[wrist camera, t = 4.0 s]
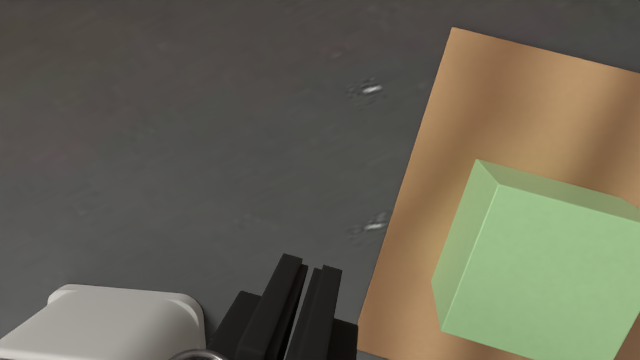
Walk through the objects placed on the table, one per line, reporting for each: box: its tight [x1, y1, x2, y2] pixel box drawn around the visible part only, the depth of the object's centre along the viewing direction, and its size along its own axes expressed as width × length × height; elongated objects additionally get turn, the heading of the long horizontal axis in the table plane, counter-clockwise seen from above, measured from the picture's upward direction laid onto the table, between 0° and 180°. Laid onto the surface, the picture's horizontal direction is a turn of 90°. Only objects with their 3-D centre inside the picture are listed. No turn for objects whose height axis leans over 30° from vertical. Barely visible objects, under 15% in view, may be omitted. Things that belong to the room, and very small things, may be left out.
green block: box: [431, 159, 640, 360], centre depth 20 cm, size 7×7×4 cm
